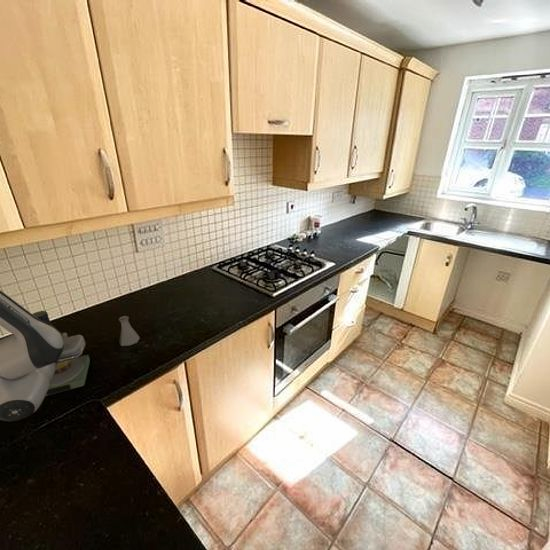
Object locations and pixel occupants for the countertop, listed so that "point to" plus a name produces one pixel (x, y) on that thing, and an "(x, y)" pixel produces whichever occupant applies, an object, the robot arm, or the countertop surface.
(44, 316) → the sauce bottle
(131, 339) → the flask
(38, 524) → the countertop surface
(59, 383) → the scale
